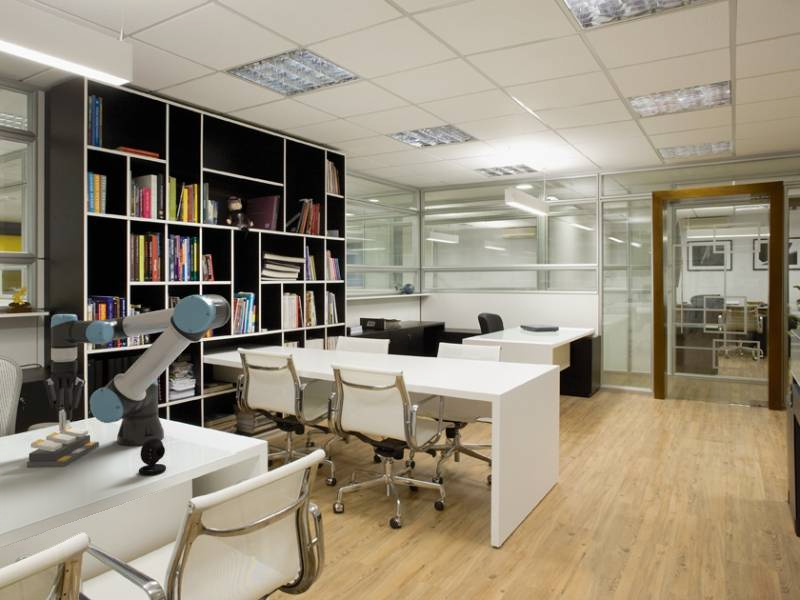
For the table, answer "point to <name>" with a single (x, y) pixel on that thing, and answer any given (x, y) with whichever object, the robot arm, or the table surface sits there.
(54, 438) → the rocker
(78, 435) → the rocker
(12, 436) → the table surface
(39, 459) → the switch panel
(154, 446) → the webcam
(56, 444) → the rocker
